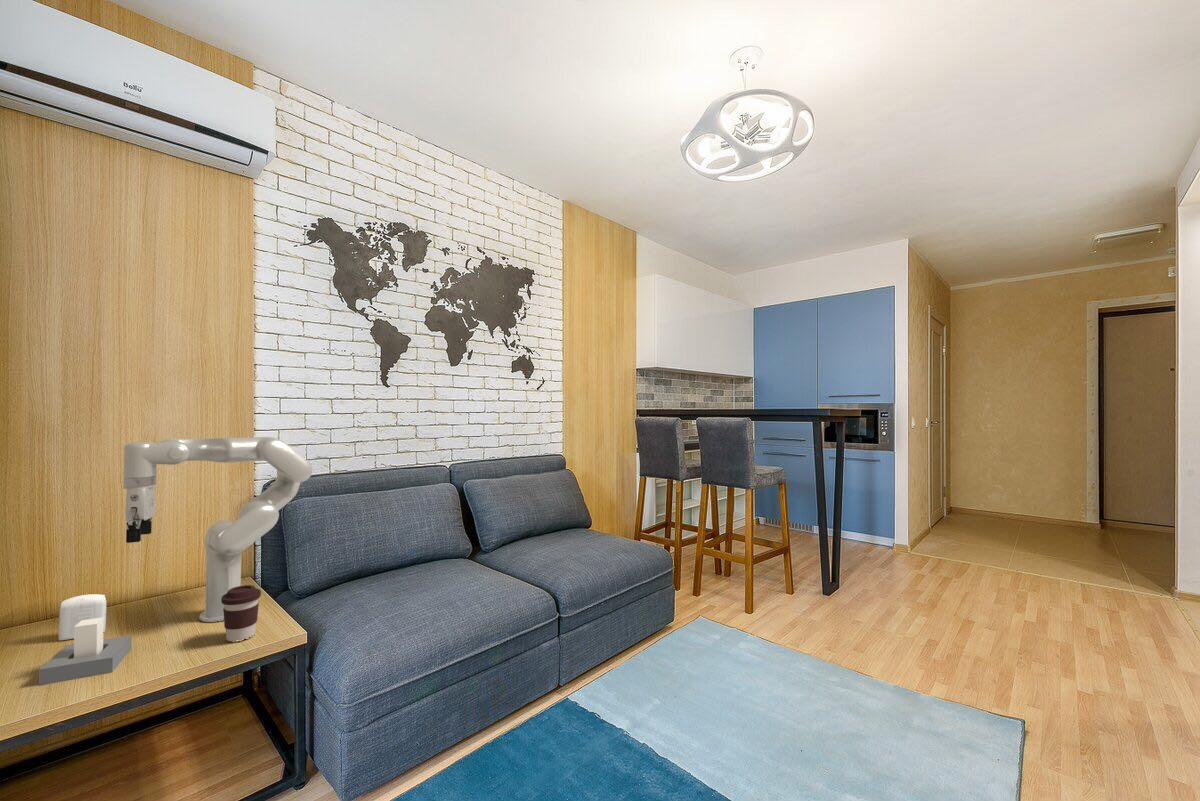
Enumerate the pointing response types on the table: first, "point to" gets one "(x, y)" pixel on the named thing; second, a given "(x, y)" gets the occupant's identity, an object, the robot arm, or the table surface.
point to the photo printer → (80, 613)
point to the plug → (88, 637)
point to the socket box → (84, 661)
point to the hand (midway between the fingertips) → (139, 538)
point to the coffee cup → (240, 612)
